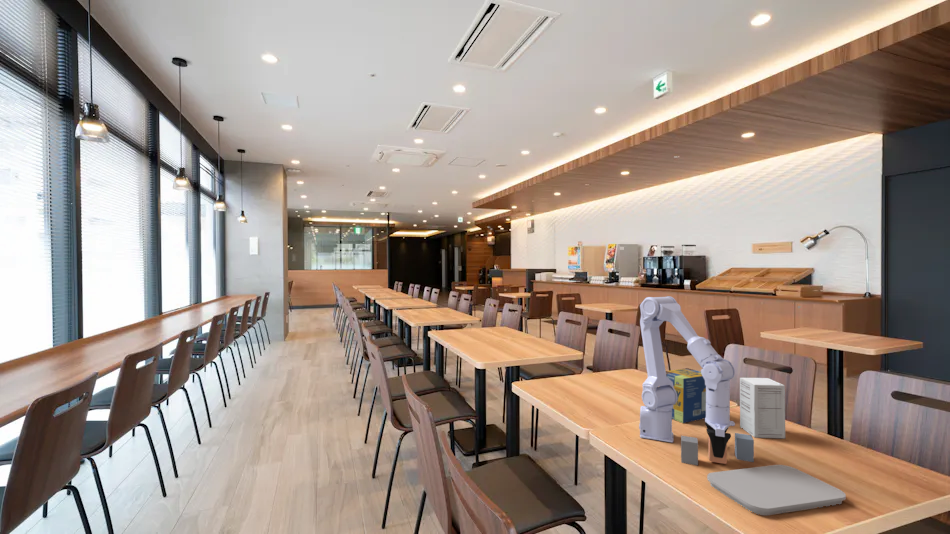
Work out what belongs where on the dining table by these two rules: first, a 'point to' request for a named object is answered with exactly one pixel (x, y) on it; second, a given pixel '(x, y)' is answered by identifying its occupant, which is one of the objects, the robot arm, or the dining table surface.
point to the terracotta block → (716, 459)
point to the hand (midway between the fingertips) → (717, 453)
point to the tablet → (775, 489)
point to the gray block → (689, 450)
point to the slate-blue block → (744, 447)
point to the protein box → (688, 395)
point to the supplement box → (762, 407)
